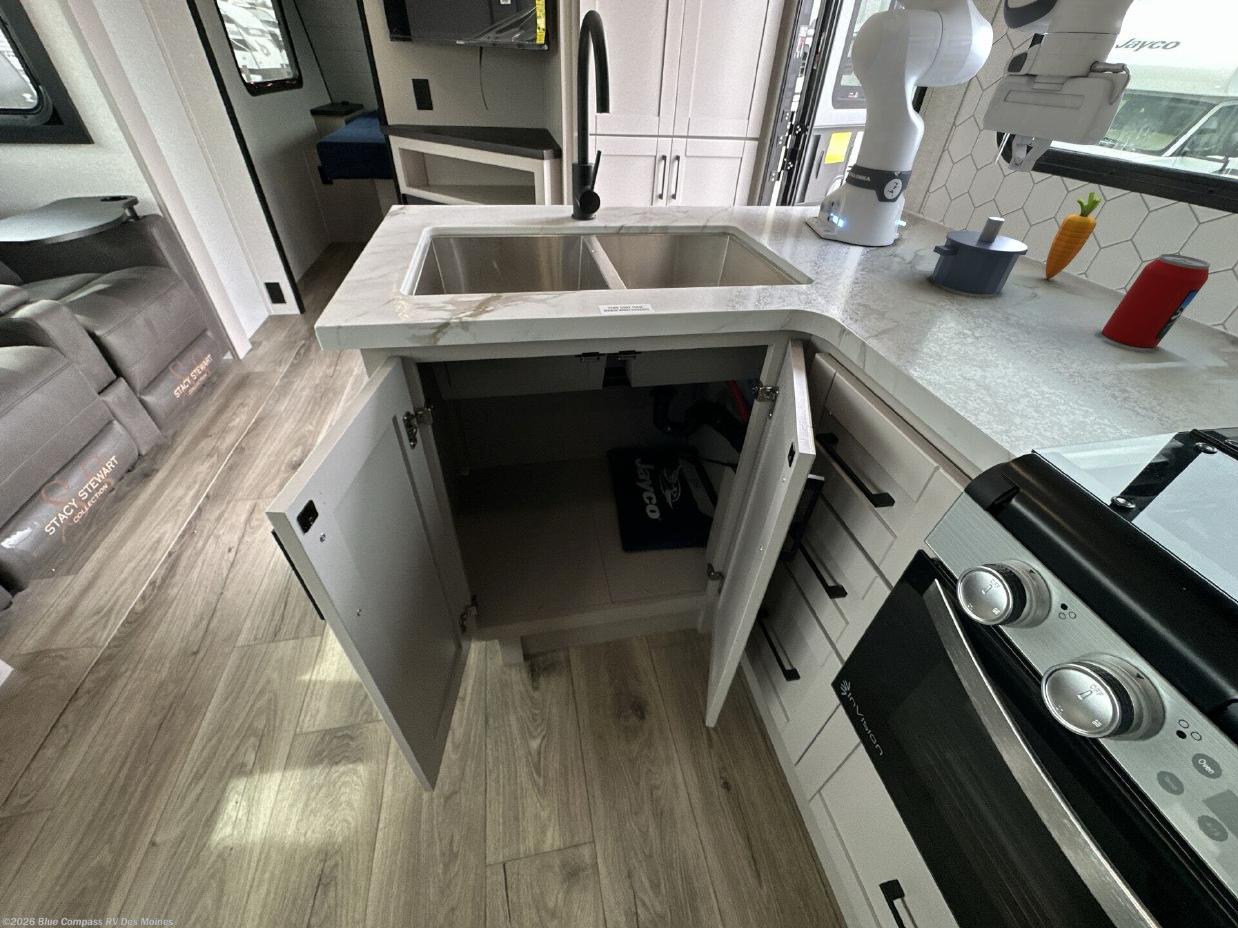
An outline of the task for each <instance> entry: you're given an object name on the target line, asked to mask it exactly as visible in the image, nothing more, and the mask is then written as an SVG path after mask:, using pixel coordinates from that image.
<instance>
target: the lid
mask: <svg viewBox="0 0 1238 928" xmlns="http://www.w3.org/2000/svg"><path fill="white" fill-rule="evenodd" d="M1004 222H1005V219H1004V218H1001V217H997V216H988V217H987V219H986V222H985V224H984V226H983V229H982V230H981V231H974V230H953V231H949V232H948V233H946V236H945V238H946V240H948V241H950V242H952V243H954V244H956V245H959V246H962V247H966V248H969V249H973V250H978V251H983V252H989V253H997V254H1021V253H1024V252H1026V250H1027V249H1028V246H1027V245H1026V244H1025V243H1023V242H1022V241H1020V240H1017V239H1014V238H1011V237H1007V236H1004V235H999V233H1000V231H1001V229H1002V226H1003V224H1004Z"/></svg>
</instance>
